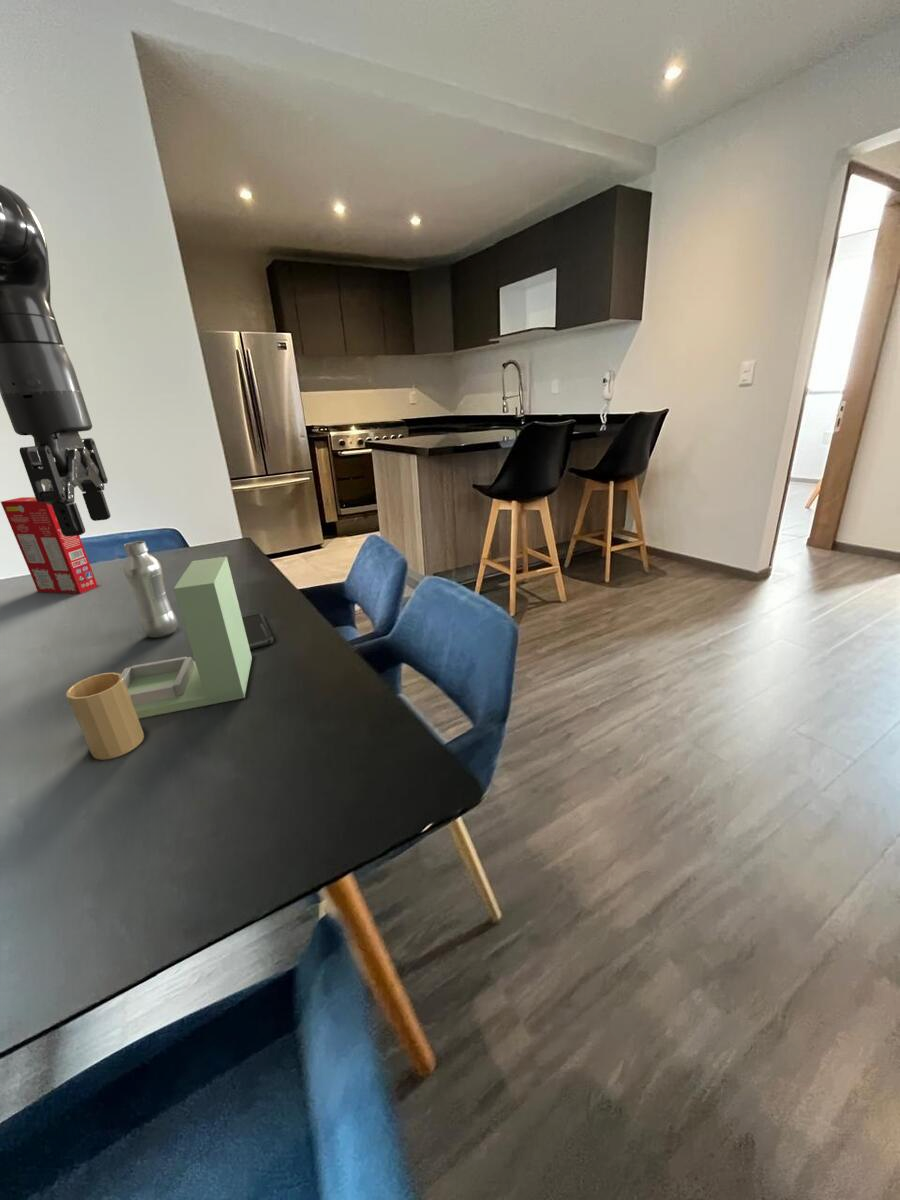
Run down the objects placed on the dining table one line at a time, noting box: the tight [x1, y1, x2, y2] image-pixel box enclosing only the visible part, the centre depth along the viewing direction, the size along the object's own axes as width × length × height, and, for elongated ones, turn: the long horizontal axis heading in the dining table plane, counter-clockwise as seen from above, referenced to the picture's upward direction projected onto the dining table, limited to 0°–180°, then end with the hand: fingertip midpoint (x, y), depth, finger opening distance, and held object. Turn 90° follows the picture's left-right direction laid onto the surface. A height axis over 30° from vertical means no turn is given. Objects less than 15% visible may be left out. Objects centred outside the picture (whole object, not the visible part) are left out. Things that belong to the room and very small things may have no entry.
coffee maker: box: [120, 556, 253, 720], centre depth 79 cm, size 20×14×20 cm
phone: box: [242, 613, 274, 651], centre depth 101 cm, size 8×1×15 cm
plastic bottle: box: [123, 540, 178, 639], centre depth 100 cm, size 6×7×20 cm
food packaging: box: [0, 496, 98, 594], centre depth 131 cm, size 15×5×25 cm, turn 77°
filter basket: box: [65, 671, 145, 760], centre depth 68 cm, size 6×6×10 cm
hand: (89, 527), depth 63 cm, fingers open, 8 cm apart
